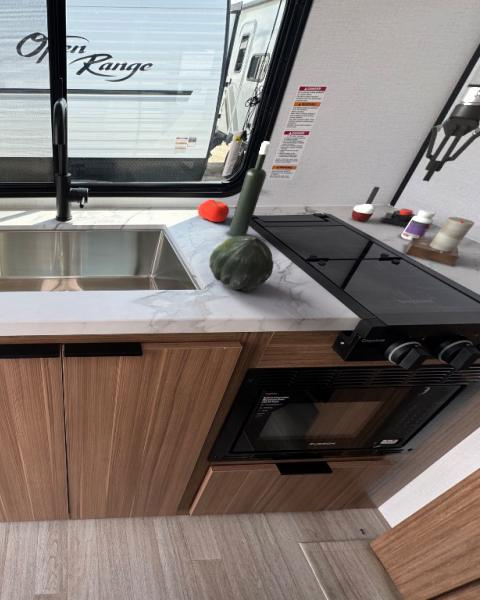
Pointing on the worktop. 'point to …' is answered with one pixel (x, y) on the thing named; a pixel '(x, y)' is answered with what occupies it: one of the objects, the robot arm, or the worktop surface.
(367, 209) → the cocoa
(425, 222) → the pill bottle
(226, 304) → the worktop surface
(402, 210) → the button
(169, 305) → the worktop surface
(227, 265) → the squash
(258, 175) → the wine bottle
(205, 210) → the tomato
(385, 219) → the button box
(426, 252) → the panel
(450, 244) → the beige waisted cup
